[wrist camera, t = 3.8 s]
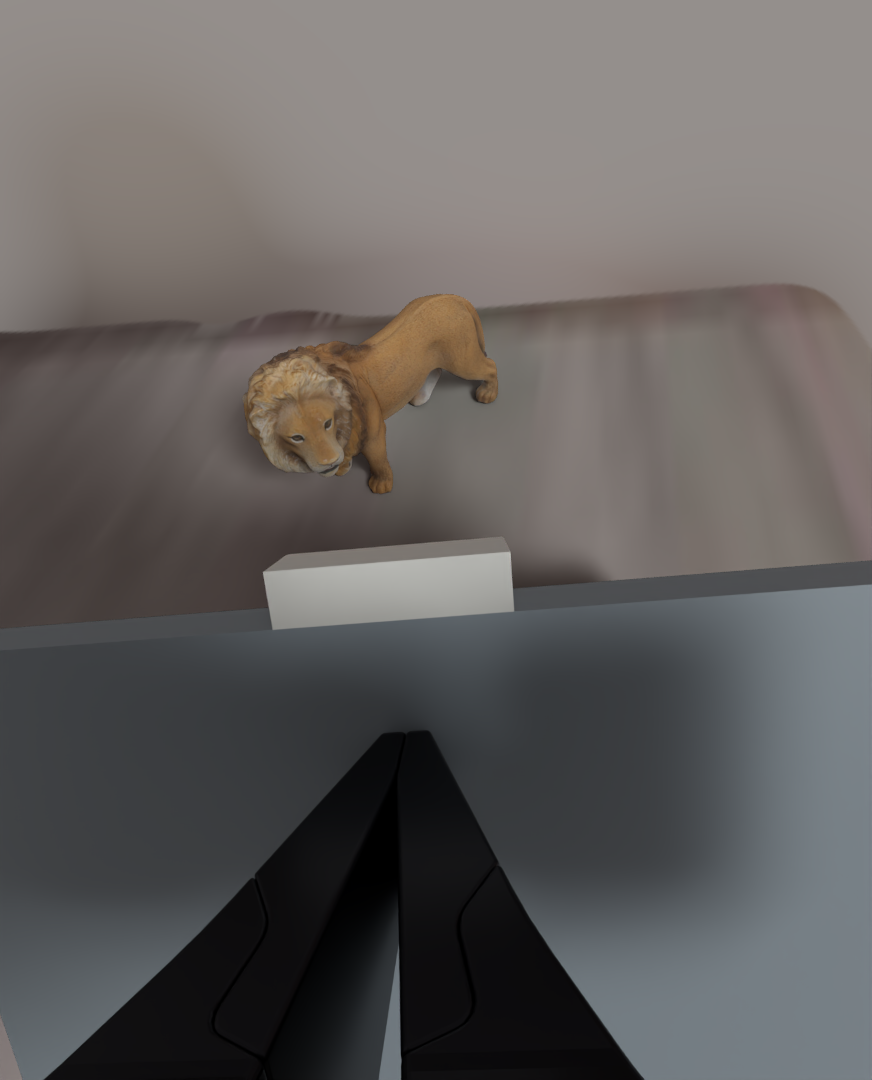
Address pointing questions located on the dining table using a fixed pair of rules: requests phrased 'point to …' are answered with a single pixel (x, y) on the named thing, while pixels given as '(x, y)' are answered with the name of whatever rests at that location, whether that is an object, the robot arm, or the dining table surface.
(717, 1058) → the lid
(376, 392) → the lion figurine
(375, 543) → the dining table surface
